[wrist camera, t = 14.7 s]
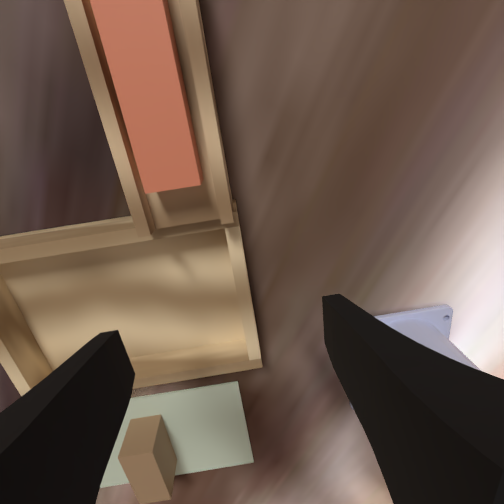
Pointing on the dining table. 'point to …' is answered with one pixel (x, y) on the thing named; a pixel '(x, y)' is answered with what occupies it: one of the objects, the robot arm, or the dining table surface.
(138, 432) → the pale green plate
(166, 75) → the salmon orange bar
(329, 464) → the dining table surface
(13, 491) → the robot arm
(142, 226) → the key channel
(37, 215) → the dining table surface
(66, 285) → the wooden box
